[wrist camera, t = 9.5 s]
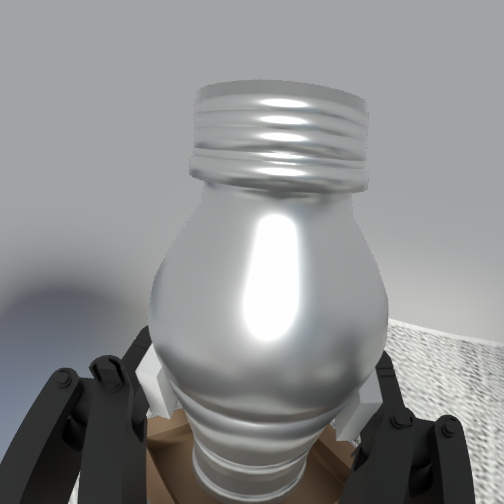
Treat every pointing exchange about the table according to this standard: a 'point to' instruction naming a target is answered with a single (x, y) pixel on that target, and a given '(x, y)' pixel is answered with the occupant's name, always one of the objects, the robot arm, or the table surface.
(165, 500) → the wooden tray
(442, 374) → the table surface
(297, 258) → the plastic bottle
